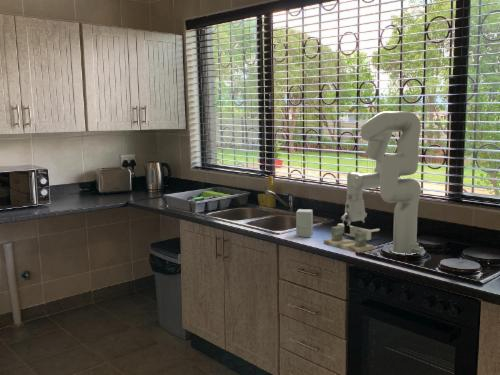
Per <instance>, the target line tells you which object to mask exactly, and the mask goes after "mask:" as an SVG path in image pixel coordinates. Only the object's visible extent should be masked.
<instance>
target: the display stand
mask: <svg viewBox="0 0 500 375" xmlns="http://www.w3.org/2000/svg"><path fill="white" fill-rule="evenodd" d="M323 244H324V245H328V246H332V247H336V248H339V249H343V250H346V251H347V250H348V251H351V252H353V253H354V252H355V253H357V254H358V253H363V252H368V251H372V250H375V245H372V244H369V243H367V240H366V232H362V231H360V232H355V237H354V240H353V239H348V238H345V237H343V227H339V226H337V225H336V226H331V238H328V239H324V240H323Z"/></svg>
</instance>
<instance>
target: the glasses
mask: <svg viewBox="0 0 500 375" xmlns="http://www.w3.org/2000/svg"><path fill="white" fill-rule="evenodd" d="M336 226H339V227H343V234H344V236H347V237H353V238H355V232H360V231H362V232H366V241H370V240H372V233H374V232H379V231H380V230H381V229H380V228H375V229H374V228H373V229H369V228H368V229H367V228H364V229H363V228H359V227H358V226H353V225H351V224H349V226H350V234H347V233H344V225H343V223H337V225H336ZM343 234H342V235H343Z"/></svg>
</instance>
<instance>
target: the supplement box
mask: <svg viewBox="0 0 500 375" xmlns="http://www.w3.org/2000/svg"><path fill="white" fill-rule="evenodd" d="M313 212H314V210H313V209H308V208H307V209H303V208H298V209H297V211H295V217H296V218H295V220H296V222H295V224H296V225H295V226H296V228H295V230H296V237H297V236H301V238H311V237H313V235H314V229H313V228H314V225H313V224H314V223H313V222H314V221H313V220H314V218H313V217H314V214H313Z"/></svg>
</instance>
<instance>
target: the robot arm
mask: <svg viewBox="0 0 500 375" xmlns="http://www.w3.org/2000/svg"><path fill="white" fill-rule="evenodd" d="M421 127H422V124H421V121H420V118H419V117H418V116H417V114H415V113H413V112H411V111H405V110H403V111H402V110H399V111H398V110H397V111H396V110H395V111H381V112H379V113H377V114H376V115H374V116H373V117H371V118H370V119H368V120H367V121H366V122H364V123H363V125H362V126H361V128H360V138H361V139H362V140H363V141H365V142H367V145H366V149H365V155H366V156H367V158H369V159H371V160H373V161H375V162H376V164H375V168H374V170H373V172H364V173H363V172H361V171H349V172H348V173H347V176H346V179H347V180H346V201H345V206H344V207H345V208H344V214H343V215H342V216H341V217H340V220H341V222H342V223H343V225H344V233H347V234H350V226H351V223H352V222H353V223H354V222H357V227H359V228H363V229H365V223H366V219H367V217H368V216H367V215H368V213H367V212H366V208H365V207H366V206H365V201H364V198H363V197H364V196H363V195H364V194H363V193H364V190H368V189H370V190H371V189H377V188H379V194H380V198H381V199H382V200H383V201H384V202H385V203H388V204H393V203H396V204H395V207H394V209H393V210H394V211H393V232H392V233H393V235H392V236H393V239H392V246H391V247H389V249H388V251H389V250H391V251H393V252H397V253H405V254H406V253H407V254H411V253H418V252H420V253H419V254H421V253H423V251H424V247H423V246H419V244H420V242H418V241H417V240H418V239H417V237H418V236H417V235H418V234H417V233H418V213H419V212H418V211H419V210H418V209H419V203H420V202H419V201H420V197H421V195H422V194H421V193H422V188H421V185H420V183H419V181H417V180H416V179H414V178H409V177H408V178H399V177H404V176H411V175H414V174H416V173H417V171H418V168H419V148H420V147H419V142H420V135H421V129H422V128H421ZM395 132H396V133H397V132H398V133H399V132H401V133H400V135H399V138H398V140H397V142H396V153H395V152H394V153H388V154H386V152H387V149H388V146H389V143H390V140H391V138H392V136H393V133H395ZM342 223H341V224H342ZM349 225H350V226H349Z"/></svg>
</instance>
